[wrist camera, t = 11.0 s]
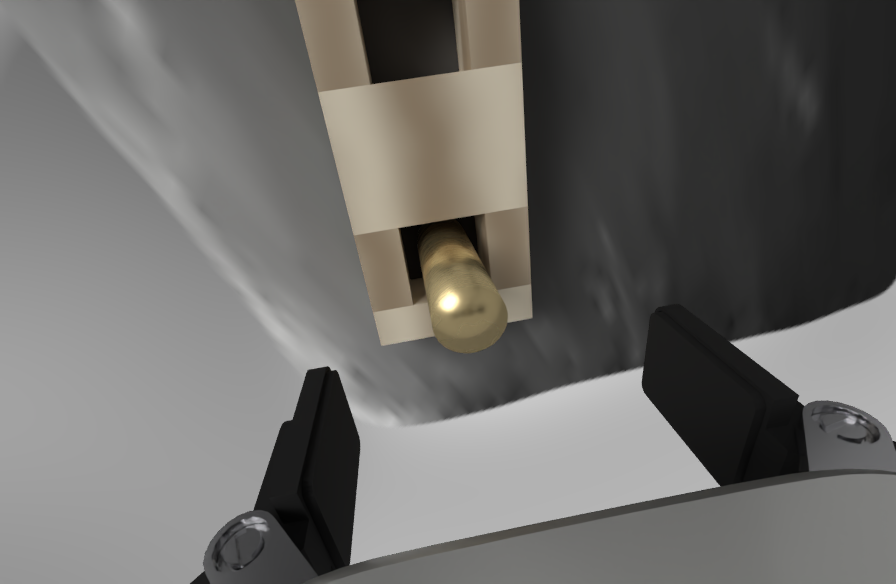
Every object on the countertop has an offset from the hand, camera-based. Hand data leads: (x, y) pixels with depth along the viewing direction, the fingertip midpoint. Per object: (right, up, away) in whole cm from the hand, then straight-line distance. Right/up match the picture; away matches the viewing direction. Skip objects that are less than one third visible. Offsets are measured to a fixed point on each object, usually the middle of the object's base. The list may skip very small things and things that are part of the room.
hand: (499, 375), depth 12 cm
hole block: (-3, +11, +10) cm, 15 cm away
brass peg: (-2, +6, +13) cm, 14 cm away
